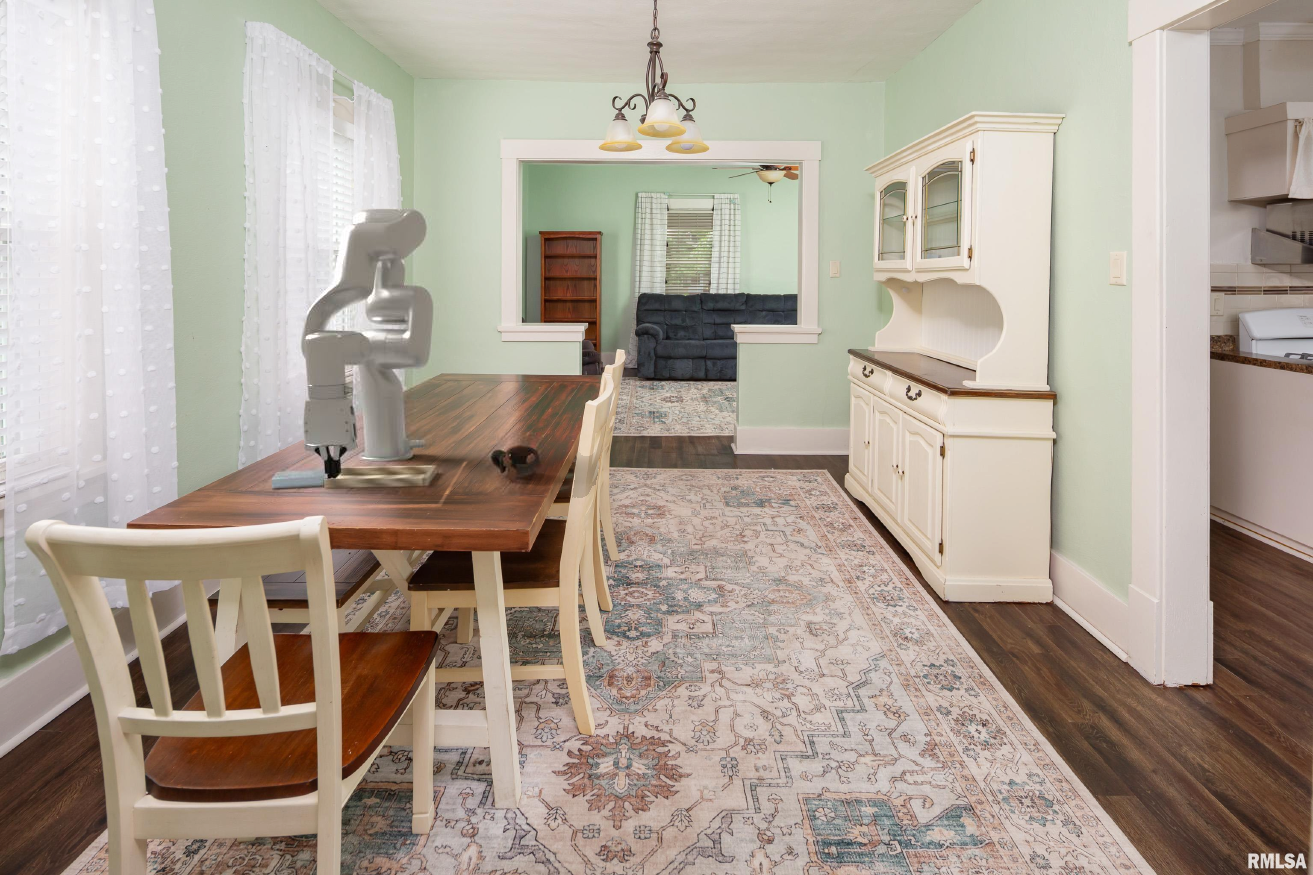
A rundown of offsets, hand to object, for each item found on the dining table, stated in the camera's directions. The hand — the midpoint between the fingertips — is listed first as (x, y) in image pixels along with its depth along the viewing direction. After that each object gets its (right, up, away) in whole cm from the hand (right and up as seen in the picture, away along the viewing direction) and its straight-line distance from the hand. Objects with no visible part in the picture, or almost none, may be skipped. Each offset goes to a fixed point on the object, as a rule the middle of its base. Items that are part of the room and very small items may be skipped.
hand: (333, 476), depth 175 cm
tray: (+10, -1, +1) cm, 10 cm away
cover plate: (-6, -2, -2) cm, 7 cm away
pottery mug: (+38, -1, +7) cm, 39 cm away
